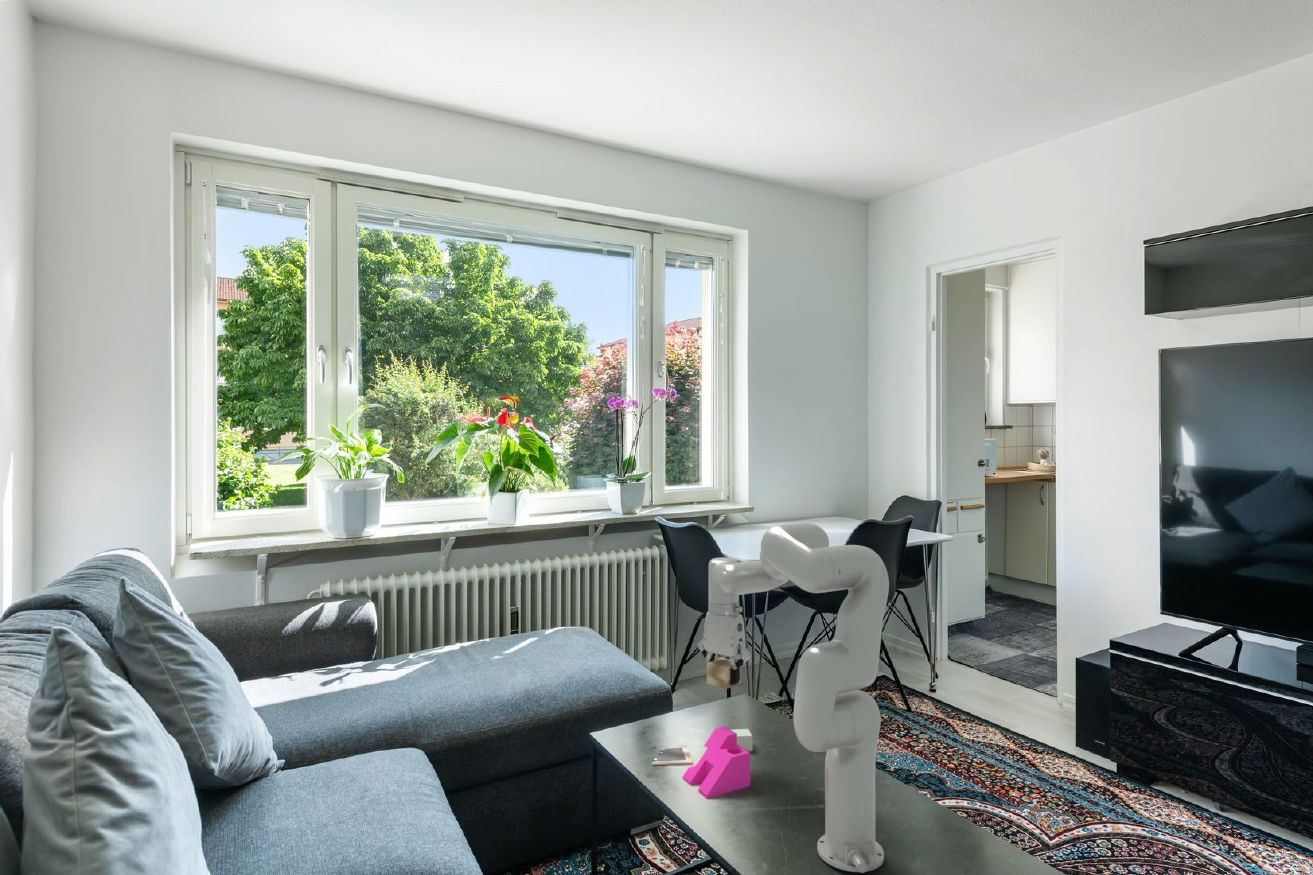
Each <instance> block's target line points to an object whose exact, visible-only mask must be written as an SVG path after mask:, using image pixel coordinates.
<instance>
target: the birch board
mask: <svg viewBox="0 0 1313 875" xmlns="http://www.w3.org/2000/svg"><path fill="white" fill-rule="evenodd" d="M674 746H675V747H671V748H662V749H665V750H660V751H659V752H663V753H659V754H657V755H656V756H657V758H655V759H654V760H657V761H655V762H652V763H651V766H652V765H654V764H655V765H658V764H659V765H661V764H662V765H670V766H688V765H689V766H690V764H693V765H694V762H693V759H692V756H691V753H690V750H689V747H688V745H687V744H686V745H685V744H682V745H681V744H679V745H674Z"/></svg>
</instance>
